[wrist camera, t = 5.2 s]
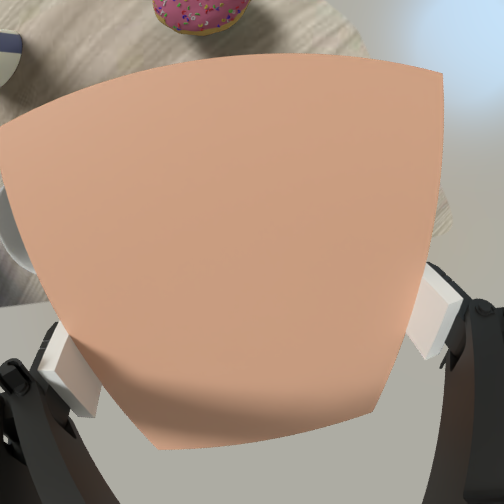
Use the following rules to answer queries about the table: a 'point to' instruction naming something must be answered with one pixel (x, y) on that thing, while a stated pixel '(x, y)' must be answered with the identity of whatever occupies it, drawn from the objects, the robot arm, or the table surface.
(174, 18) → the cupcake
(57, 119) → the lid
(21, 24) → the table surface
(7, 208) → the teacup
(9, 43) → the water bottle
